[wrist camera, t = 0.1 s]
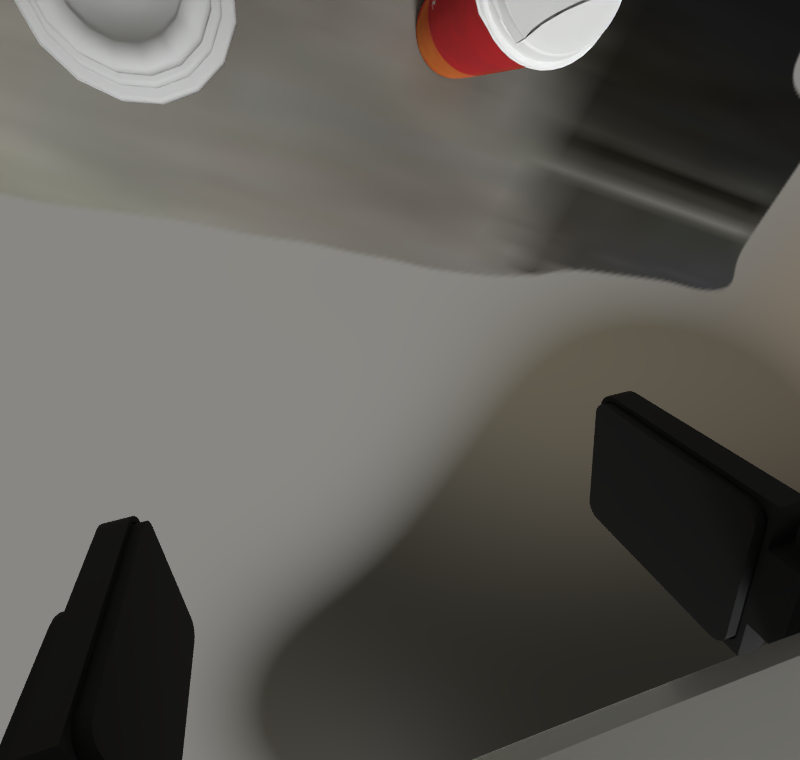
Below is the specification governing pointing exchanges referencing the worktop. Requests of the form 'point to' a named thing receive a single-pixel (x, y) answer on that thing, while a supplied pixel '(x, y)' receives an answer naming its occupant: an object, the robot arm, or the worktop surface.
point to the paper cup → (508, 33)
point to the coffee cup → (136, 43)
